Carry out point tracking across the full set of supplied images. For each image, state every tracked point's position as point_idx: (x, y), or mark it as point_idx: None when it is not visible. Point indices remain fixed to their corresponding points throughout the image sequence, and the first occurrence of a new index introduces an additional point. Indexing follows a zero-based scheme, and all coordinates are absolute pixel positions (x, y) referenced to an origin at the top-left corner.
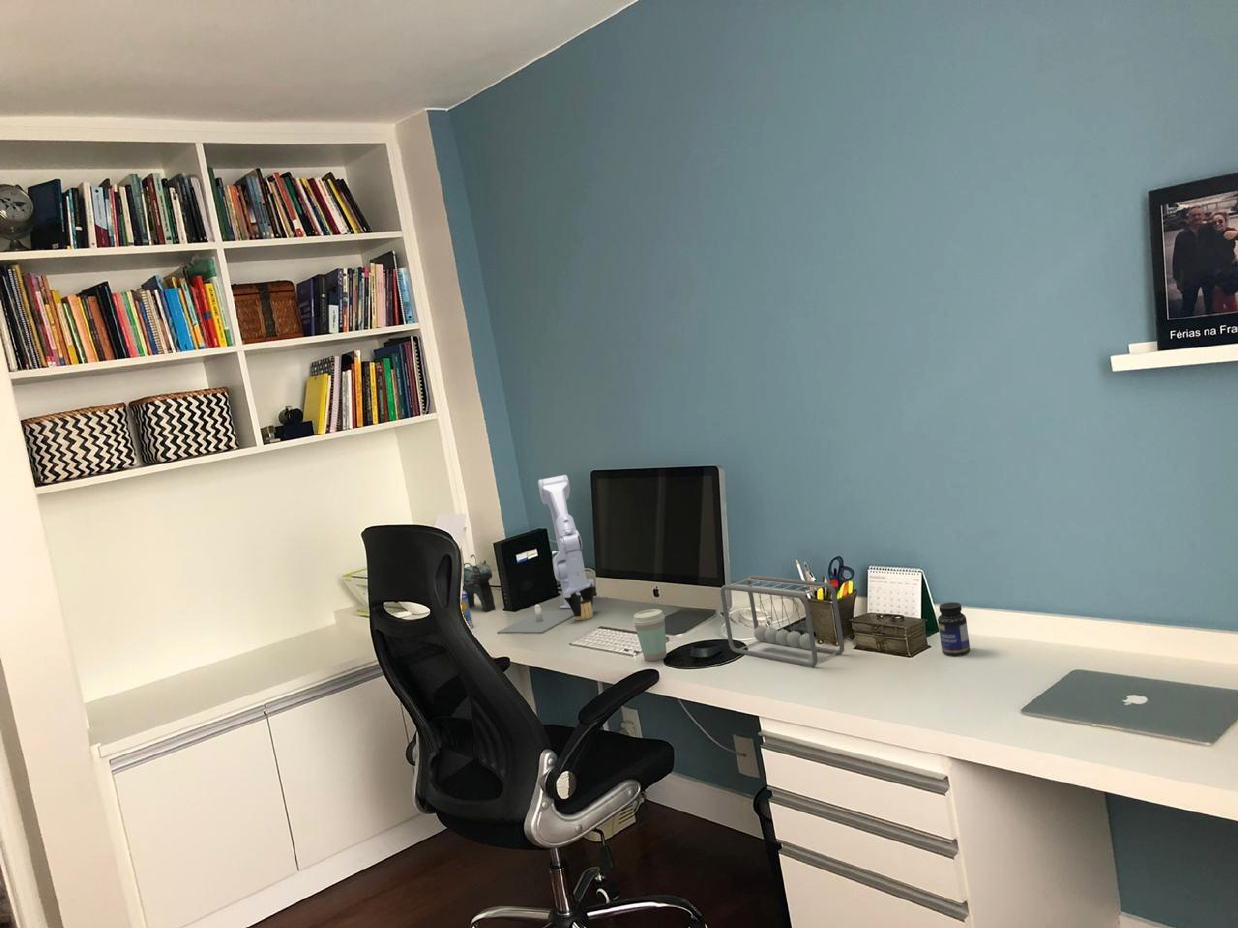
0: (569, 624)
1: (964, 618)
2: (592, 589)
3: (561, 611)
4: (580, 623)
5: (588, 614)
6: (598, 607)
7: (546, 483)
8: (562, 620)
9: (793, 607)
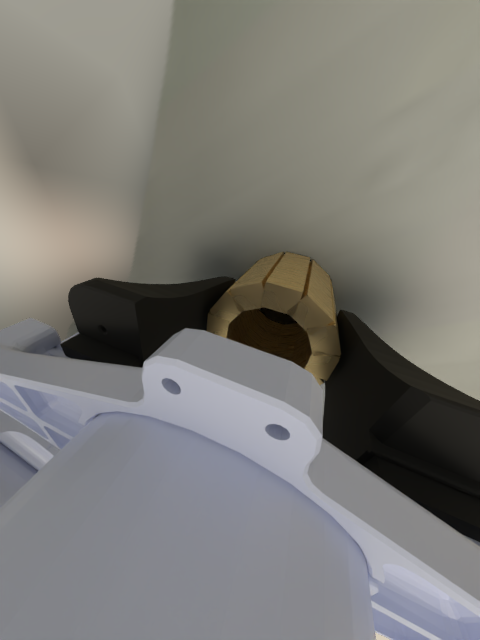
0: (398, 348)
1: None
2: (143, 297)
3: None
4: (420, 288)
5: (316, 270)
6: (142, 277)
7: None
8: (324, 386)
9: None
